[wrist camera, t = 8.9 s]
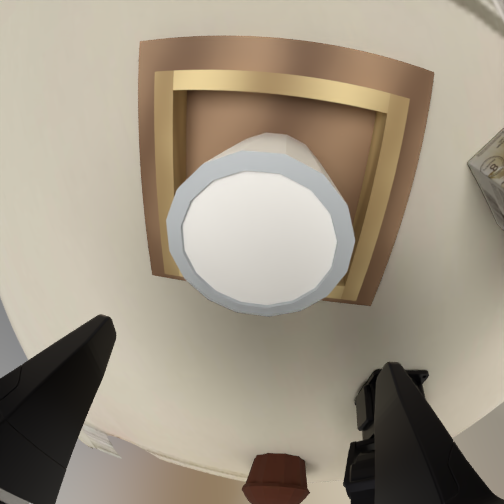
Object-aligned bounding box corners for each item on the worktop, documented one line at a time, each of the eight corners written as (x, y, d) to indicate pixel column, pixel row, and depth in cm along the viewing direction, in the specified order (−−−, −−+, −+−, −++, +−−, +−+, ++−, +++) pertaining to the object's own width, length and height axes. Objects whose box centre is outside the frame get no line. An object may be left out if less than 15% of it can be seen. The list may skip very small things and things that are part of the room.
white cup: (201, 130, 15) (142, 167, 9) (330, 116, 14) (354, 142, 8) (224, 239, 19) (191, 318, 13) (336, 232, 18) (351, 315, 12)
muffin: (288, 471, 47) (283, 514, 39) (237, 460, 46) (228, 506, 37) (325, 457, 41) (322, 509, 32) (268, 445, 39) (259, 502, 31)
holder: (427, 72, 12) (450, 73, 10) (368, 296, 21) (375, 325, 19) (147, 42, 13) (121, 39, 11) (157, 267, 22) (141, 292, 20)
